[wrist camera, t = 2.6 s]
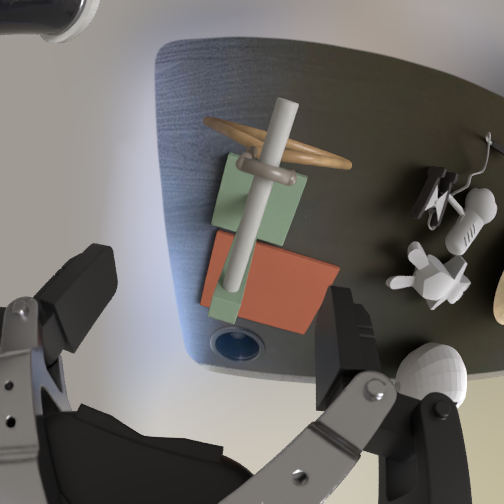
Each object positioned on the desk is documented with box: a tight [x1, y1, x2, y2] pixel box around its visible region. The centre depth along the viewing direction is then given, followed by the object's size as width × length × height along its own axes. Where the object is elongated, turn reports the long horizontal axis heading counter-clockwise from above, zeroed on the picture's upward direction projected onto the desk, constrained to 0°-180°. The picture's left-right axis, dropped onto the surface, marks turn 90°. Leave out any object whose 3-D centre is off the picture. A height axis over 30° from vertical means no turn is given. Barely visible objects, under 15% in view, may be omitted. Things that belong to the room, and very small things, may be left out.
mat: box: [200, 229, 340, 334], centre depth 46 cm, size 18×14×1 cm
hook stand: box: [208, 98, 307, 324], centre depth 28 cm, size 10×19×22 cm, turn 165°
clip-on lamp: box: [410, 132, 504, 255], centre depth 31 cm, size 12×6×18 cm
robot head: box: [395, 342, 467, 408], centre depth 42 cm, size 16×14×20 cm
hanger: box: [203, 116, 352, 186], centre depth 20 cm, size 14×1×11 cm, turn 75°
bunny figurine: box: [386, 242, 471, 310], centre depth 39 cm, size 10×5×15 cm
